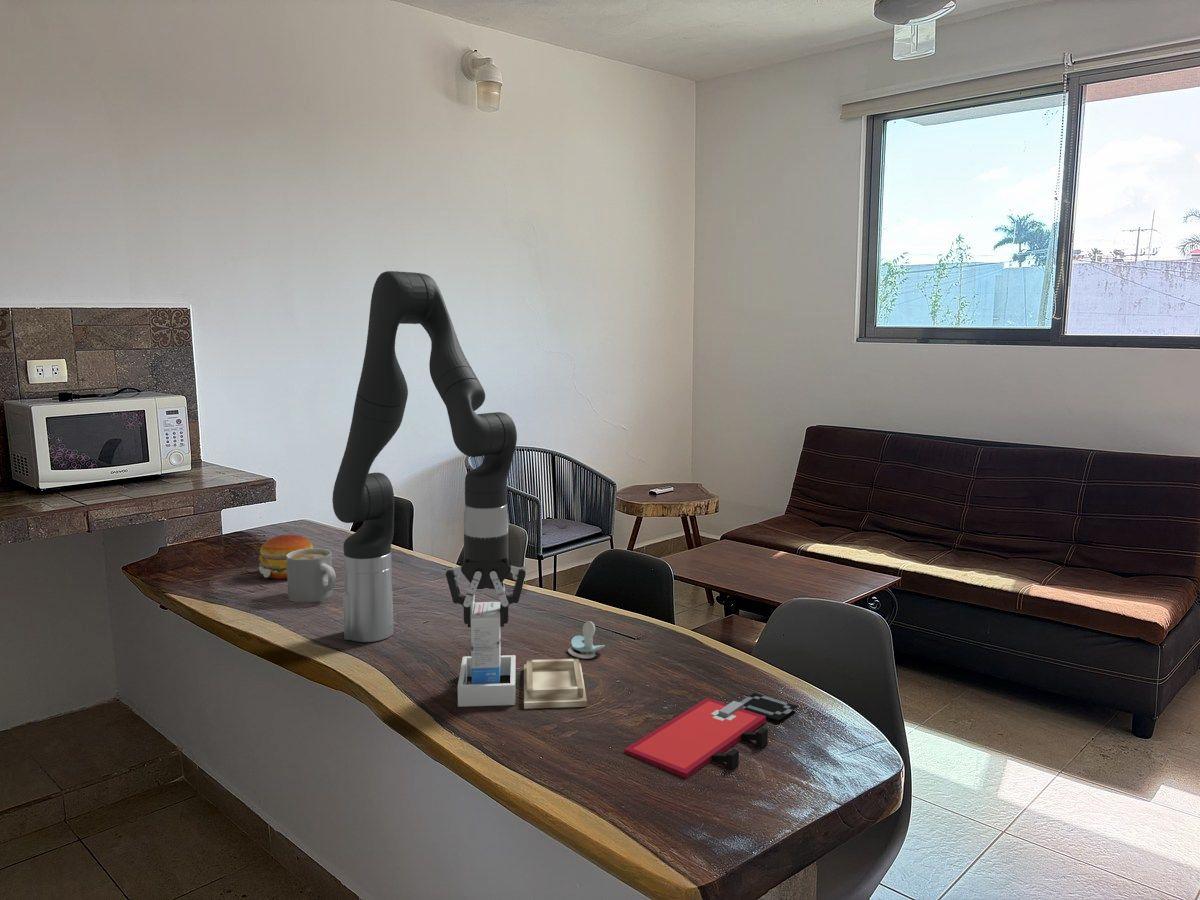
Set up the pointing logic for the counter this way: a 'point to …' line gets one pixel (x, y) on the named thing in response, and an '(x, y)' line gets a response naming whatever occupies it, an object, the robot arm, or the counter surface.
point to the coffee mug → (310, 575)
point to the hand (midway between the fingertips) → (486, 625)
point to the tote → (487, 685)
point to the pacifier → (585, 642)
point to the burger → (280, 554)
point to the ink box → (485, 642)
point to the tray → (554, 684)
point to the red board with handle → (708, 734)
